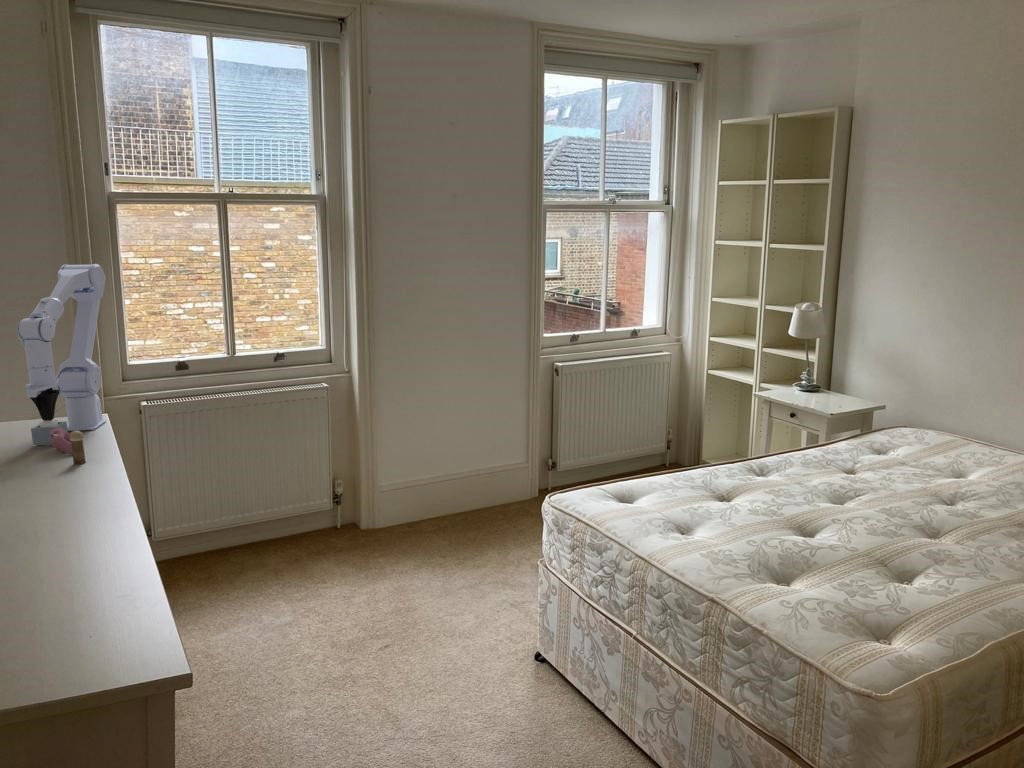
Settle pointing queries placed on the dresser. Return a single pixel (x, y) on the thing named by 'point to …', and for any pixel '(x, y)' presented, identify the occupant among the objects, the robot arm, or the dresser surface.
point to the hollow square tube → (45, 433)
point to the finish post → (77, 447)
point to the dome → (48, 423)
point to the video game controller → (61, 440)
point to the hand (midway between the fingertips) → (48, 419)
